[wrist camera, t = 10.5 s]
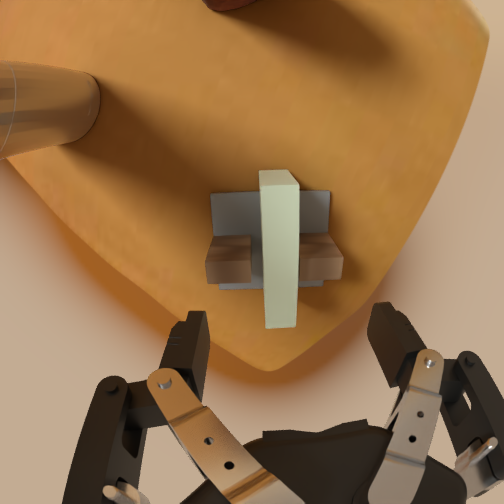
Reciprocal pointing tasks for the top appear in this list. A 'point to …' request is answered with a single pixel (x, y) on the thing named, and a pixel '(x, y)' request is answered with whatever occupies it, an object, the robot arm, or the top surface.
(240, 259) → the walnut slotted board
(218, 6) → the wooden figurine
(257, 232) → the charcoal base board
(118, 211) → the top surface
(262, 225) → the pale green upright slab
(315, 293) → the top surface
